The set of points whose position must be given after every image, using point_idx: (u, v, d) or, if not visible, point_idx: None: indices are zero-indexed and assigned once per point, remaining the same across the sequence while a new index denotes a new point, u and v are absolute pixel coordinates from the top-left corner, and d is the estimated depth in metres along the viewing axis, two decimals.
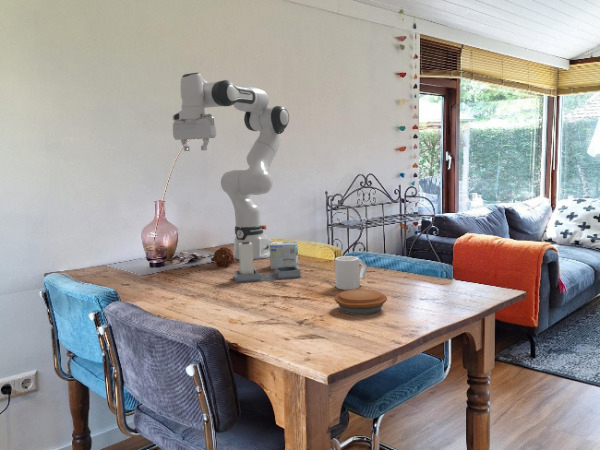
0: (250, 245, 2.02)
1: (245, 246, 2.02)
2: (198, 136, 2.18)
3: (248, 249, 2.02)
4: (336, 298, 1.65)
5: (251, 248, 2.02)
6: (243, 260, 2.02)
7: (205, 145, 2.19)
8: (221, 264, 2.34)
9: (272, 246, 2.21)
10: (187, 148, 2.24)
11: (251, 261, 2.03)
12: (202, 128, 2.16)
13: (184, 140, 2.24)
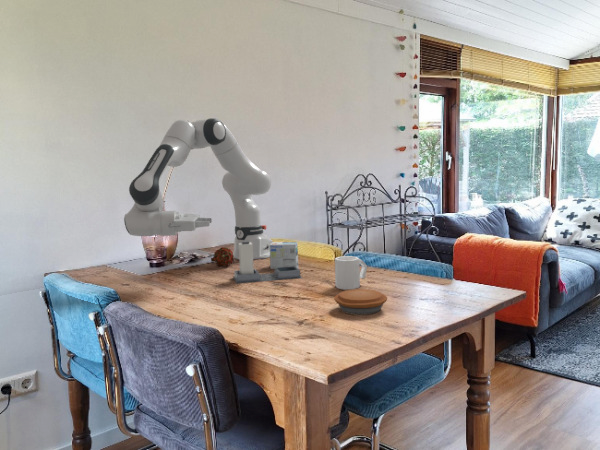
0: (250, 245, 2.02)
1: (245, 246, 2.02)
2: None
3: (248, 249, 2.02)
4: (336, 298, 1.65)
5: (251, 248, 2.02)
6: (243, 260, 2.02)
7: (203, 224, 1.96)
8: (221, 264, 2.34)
9: (272, 246, 2.21)
10: (208, 221, 2.06)
11: (251, 261, 2.03)
12: None
13: None
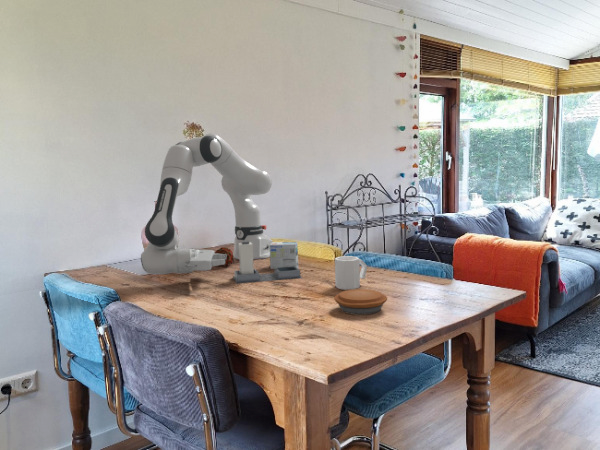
0: (250, 245, 2.02)
1: (245, 246, 2.02)
2: None
3: (248, 249, 2.02)
4: (336, 298, 1.65)
5: (251, 248, 2.02)
6: (243, 260, 2.02)
7: (219, 262, 1.98)
8: None
9: (272, 246, 2.21)
10: (223, 257, 2.08)
11: (251, 261, 2.03)
12: None
13: (215, 258, 2.09)
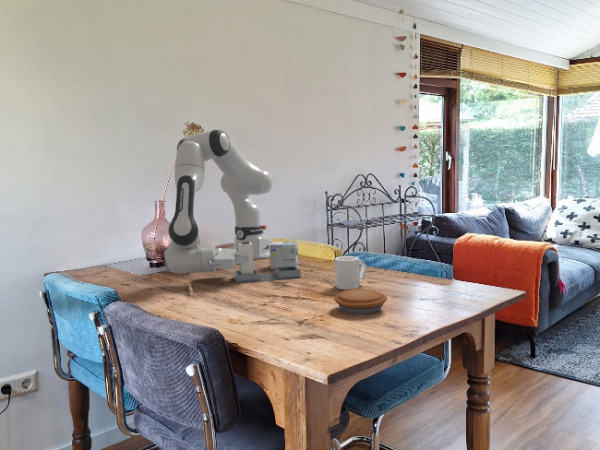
0: (250, 245, 2.02)
1: (245, 246, 2.02)
2: None
3: (248, 249, 2.02)
4: (336, 298, 1.65)
5: (251, 248, 2.02)
6: None
7: (243, 260, 2.00)
8: None
9: (272, 246, 2.21)
10: None
11: (251, 261, 2.03)
12: None
13: None
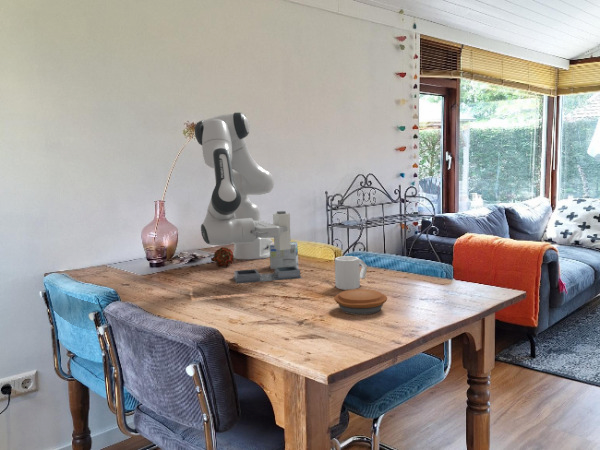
0: (287, 214, 2.04)
1: (283, 215, 2.03)
2: None
3: (286, 218, 2.04)
4: (336, 298, 1.65)
5: (288, 217, 2.04)
6: None
7: (282, 229, 2.02)
8: (221, 264, 2.34)
9: (272, 246, 2.21)
10: None
11: (288, 230, 2.05)
12: None
13: None
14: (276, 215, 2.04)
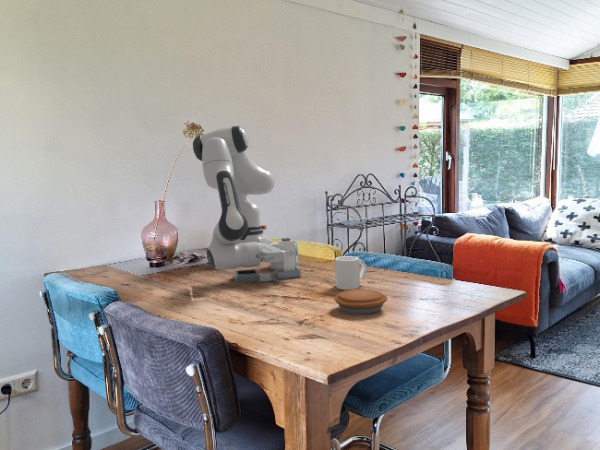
0: (292, 242, 2.06)
1: (287, 243, 2.05)
2: None
3: (290, 246, 2.06)
4: (336, 298, 1.64)
5: (293, 245, 2.06)
6: None
7: (289, 253, 2.02)
8: None
9: None
10: None
11: (293, 257, 2.07)
12: None
13: None
14: (281, 242, 2.06)
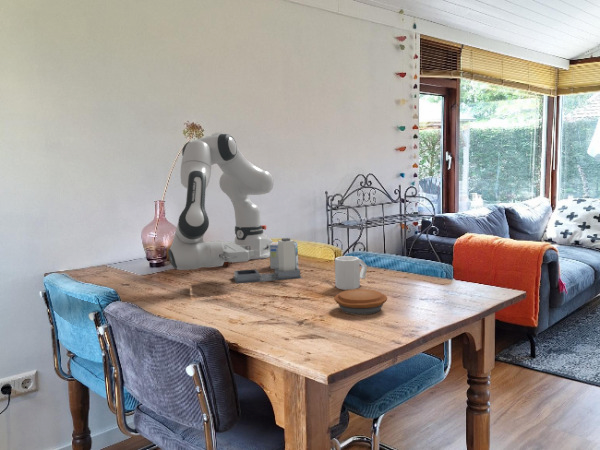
0: (292, 242, 2.06)
1: (287, 243, 2.05)
2: None
3: (290, 246, 2.06)
4: (336, 298, 1.64)
5: (293, 245, 2.06)
6: (285, 257, 2.05)
7: (253, 253, 1.97)
8: None
9: (272, 246, 2.21)
10: (247, 248, 2.06)
11: (293, 257, 2.07)
12: None
13: None
14: (281, 242, 2.06)
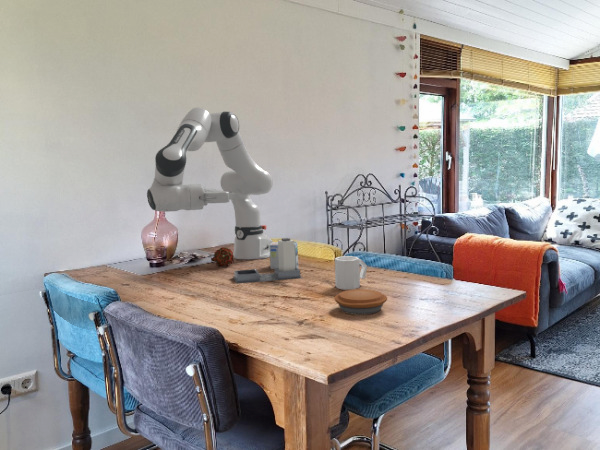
0: (292, 242, 2.06)
1: (287, 243, 2.05)
2: None
3: (290, 246, 2.06)
4: (336, 298, 1.64)
5: (293, 245, 2.06)
6: (285, 257, 2.05)
7: (234, 196, 1.94)
8: (221, 264, 2.34)
9: (272, 246, 2.21)
10: None
11: (293, 257, 2.07)
12: None
13: None
14: (281, 242, 2.06)
